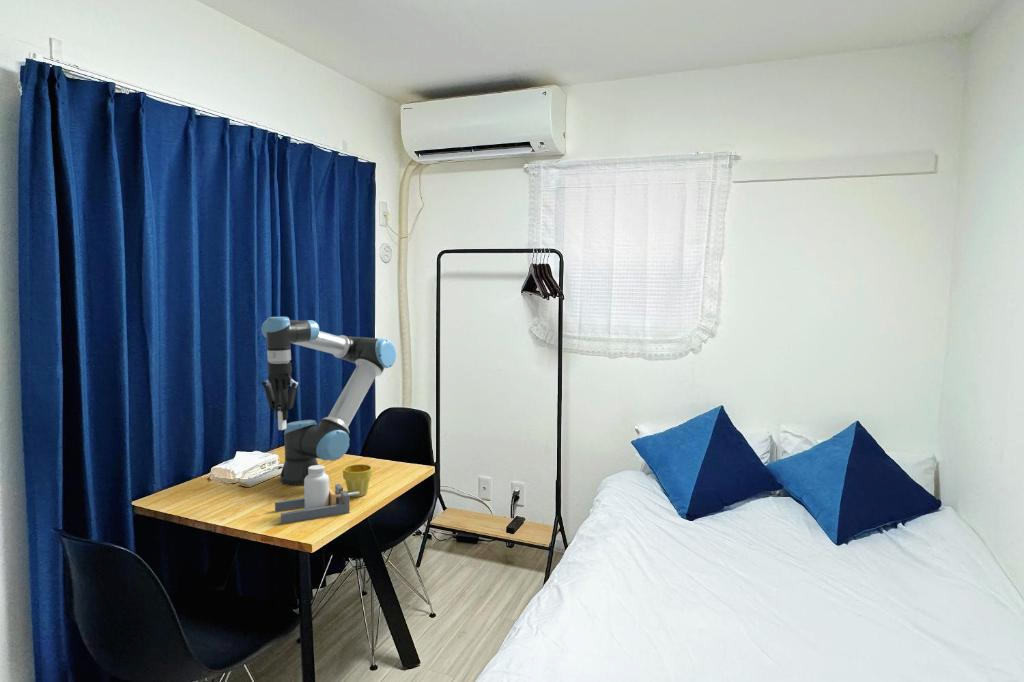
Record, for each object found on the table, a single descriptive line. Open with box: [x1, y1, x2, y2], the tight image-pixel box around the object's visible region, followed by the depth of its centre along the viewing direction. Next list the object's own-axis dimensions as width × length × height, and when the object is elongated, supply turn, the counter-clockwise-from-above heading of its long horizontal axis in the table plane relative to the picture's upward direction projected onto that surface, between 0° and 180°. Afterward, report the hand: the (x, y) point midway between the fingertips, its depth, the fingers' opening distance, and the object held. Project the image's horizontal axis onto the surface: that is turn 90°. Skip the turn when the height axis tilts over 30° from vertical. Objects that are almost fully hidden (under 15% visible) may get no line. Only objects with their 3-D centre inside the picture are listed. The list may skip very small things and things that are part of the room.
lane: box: [274, 483, 350, 525], centre depth 197 cm, size 22×13×6 cm, turn 120°
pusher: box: [329, 485, 359, 506], centre depth 203 cm, size 10×9×6 cm
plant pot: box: [342, 463, 373, 498], centre depth 215 cm, size 10×10×10 cm
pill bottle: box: [303, 464, 330, 510], centre depth 198 cm, size 8×8×15 cm
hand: (282, 428), depth 205 cm, fingers closed
